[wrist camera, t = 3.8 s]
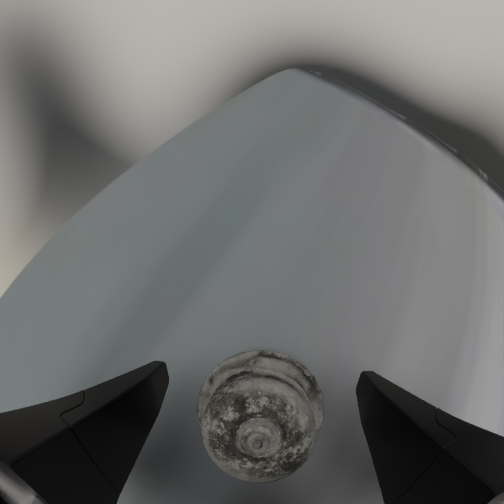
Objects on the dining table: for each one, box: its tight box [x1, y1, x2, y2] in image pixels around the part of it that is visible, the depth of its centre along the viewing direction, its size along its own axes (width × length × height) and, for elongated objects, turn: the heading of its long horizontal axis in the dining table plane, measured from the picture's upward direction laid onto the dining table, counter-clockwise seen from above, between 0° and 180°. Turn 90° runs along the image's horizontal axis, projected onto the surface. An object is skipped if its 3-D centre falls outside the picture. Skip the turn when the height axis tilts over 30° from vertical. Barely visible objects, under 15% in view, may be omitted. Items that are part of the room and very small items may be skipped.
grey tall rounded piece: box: [197, 350, 324, 483], centre depth 10 cm, size 6×6×12 cm
